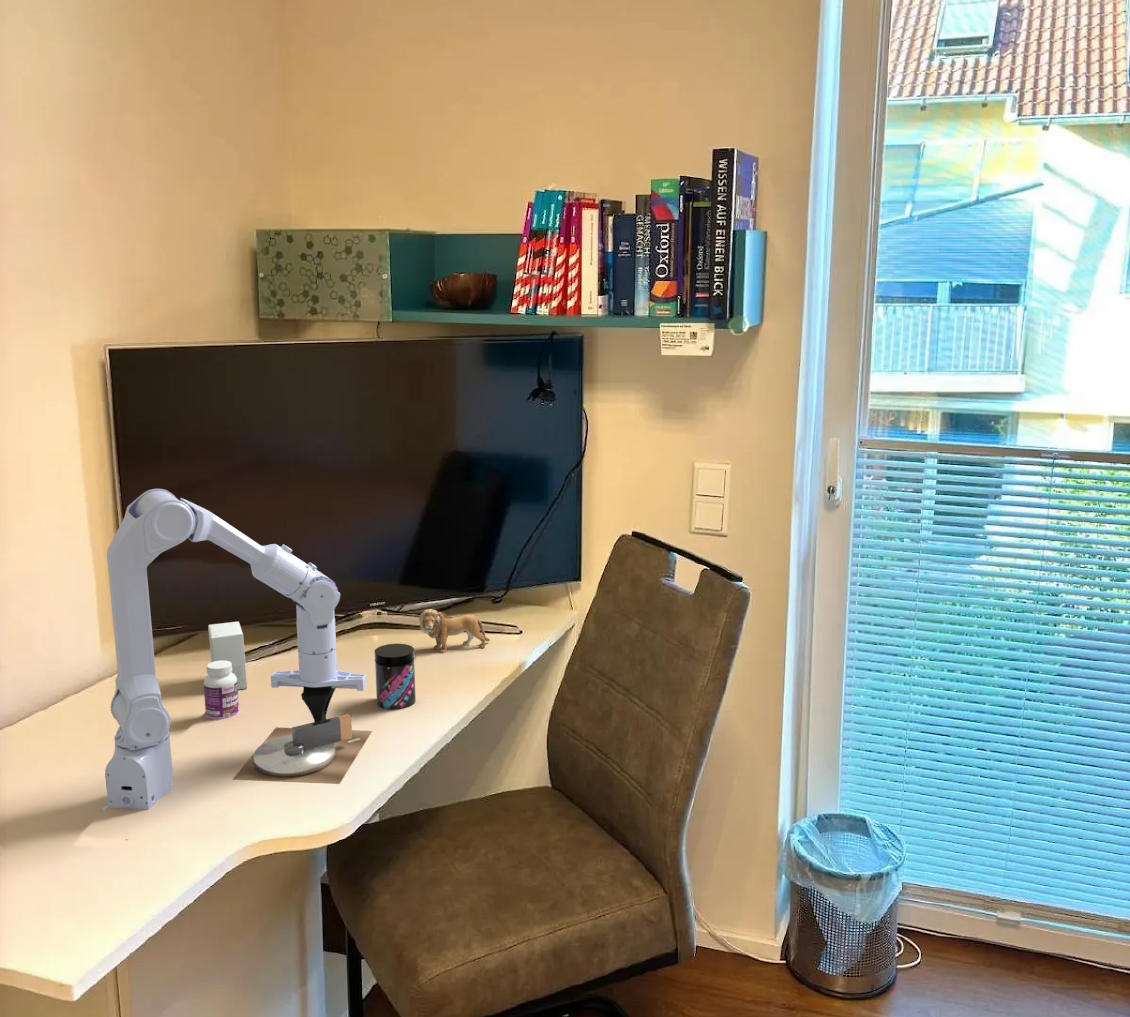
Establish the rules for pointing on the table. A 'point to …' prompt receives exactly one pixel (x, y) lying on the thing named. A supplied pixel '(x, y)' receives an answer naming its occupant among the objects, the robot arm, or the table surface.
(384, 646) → the supplement container
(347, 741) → the dial board
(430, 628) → the lion figurine
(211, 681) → the pill bottle
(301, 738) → the dial
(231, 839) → the table surface
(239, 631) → the small box
